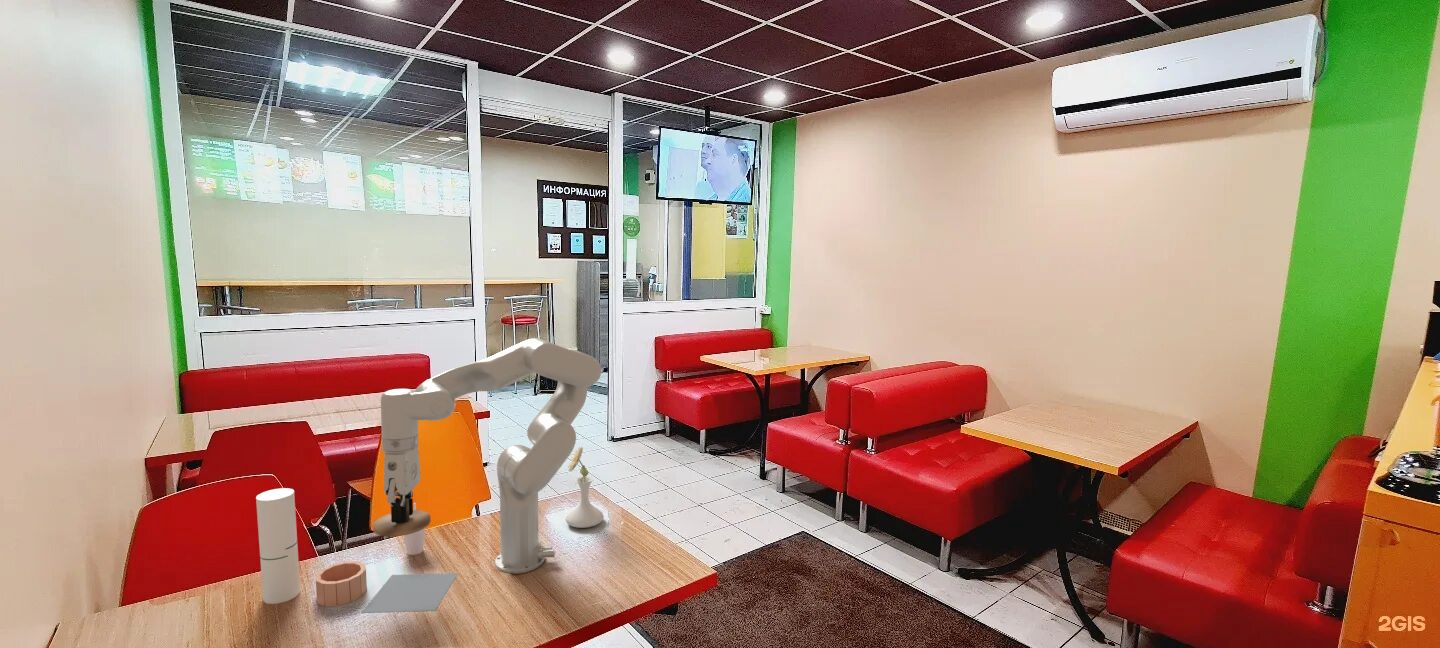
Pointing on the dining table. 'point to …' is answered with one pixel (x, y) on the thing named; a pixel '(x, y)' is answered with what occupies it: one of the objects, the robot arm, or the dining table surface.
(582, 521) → the flower in vase
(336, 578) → the bowl
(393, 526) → the lid
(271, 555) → the cylindrical container
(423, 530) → the smoothie
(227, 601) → the dining table surface
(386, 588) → the mat
